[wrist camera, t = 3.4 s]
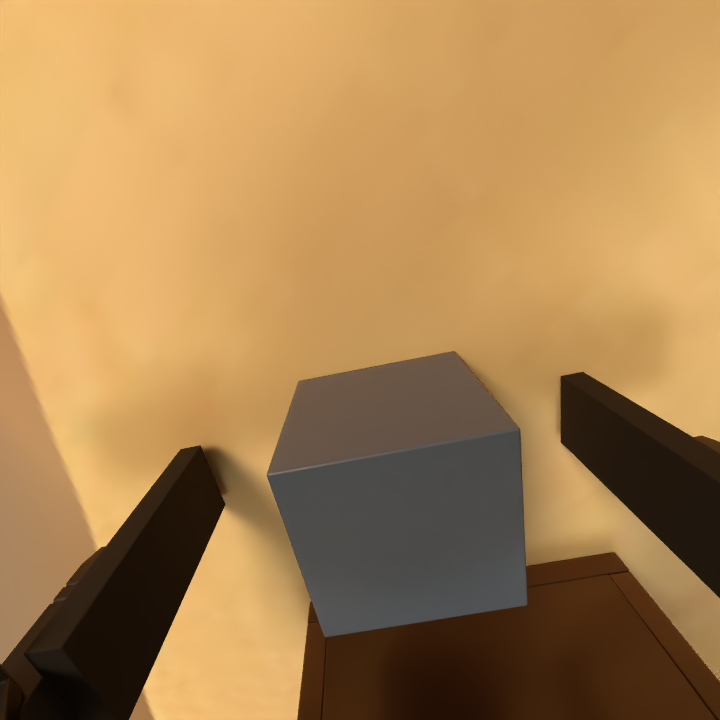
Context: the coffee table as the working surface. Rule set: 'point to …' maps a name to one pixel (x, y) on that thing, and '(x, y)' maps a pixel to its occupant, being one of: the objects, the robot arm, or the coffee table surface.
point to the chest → (519, 659)
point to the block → (402, 495)
